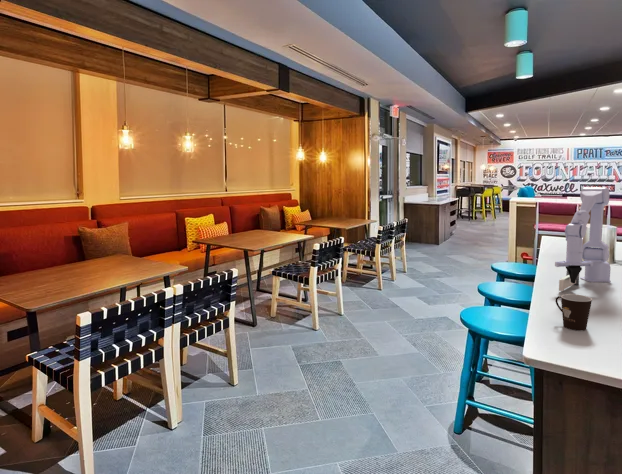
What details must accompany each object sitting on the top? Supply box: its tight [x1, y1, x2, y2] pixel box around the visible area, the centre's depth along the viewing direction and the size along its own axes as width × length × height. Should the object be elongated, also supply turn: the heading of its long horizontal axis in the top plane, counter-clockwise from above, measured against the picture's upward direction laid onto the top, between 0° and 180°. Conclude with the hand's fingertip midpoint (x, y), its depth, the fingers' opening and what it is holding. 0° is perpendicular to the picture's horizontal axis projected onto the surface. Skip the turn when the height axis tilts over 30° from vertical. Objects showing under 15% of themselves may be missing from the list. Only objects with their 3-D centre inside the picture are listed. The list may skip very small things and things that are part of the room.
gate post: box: [565, 270, 580, 286], centre depth 191 cm, size 8×2×6 cm, turn 174°
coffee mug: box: [555, 293, 593, 332], centre depth 138 cm, size 12×9×10 cm
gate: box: [558, 275, 576, 292], centre depth 182 cm, size 16×2×5 cm, turn 130°
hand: (572, 282), depth 179 cm, fingers closed
